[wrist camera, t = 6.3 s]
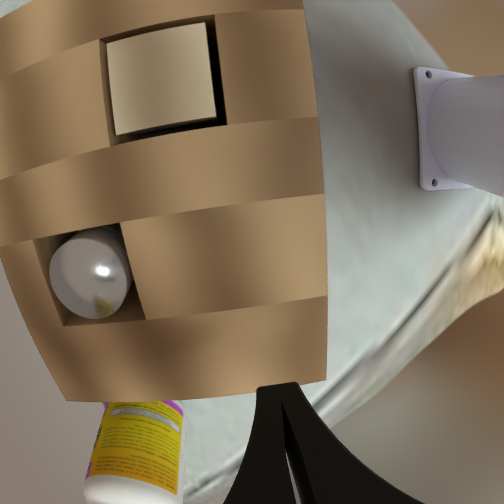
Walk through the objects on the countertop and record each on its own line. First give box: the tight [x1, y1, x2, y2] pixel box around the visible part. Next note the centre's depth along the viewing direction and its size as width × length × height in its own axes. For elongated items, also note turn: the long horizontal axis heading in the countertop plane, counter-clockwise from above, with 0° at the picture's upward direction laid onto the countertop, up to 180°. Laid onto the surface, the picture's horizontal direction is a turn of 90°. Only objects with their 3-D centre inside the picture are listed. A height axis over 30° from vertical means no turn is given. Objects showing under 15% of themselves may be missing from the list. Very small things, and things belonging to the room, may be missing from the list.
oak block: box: [0, 0, 328, 402], centre depth 15 cm, size 16×22×5 cm
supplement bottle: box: [83, 400, 187, 504], centre depth 17 cm, size 7×7×13 cm
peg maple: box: [107, 23, 218, 135], centre depth 13 cm, size 4×4×5 cm
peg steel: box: [49, 222, 134, 319], centre depth 16 cm, size 4×4×5 cm
